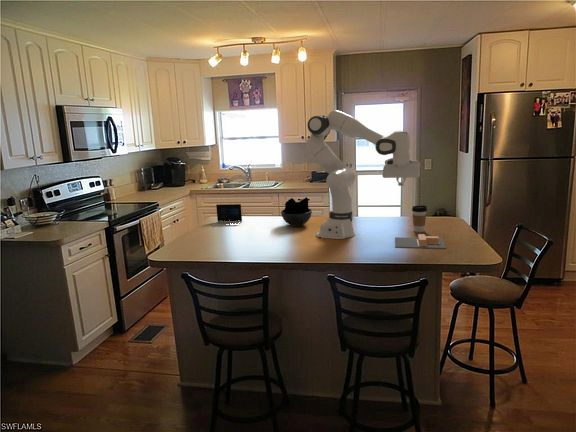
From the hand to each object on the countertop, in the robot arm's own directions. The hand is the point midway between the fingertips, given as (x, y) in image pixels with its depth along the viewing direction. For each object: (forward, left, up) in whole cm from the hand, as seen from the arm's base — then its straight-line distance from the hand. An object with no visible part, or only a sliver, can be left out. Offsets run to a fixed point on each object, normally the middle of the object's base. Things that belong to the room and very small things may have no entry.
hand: (400, 185), depth 235 cm
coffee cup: (+11, +12, -29) cm, 34 cm away
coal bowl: (-65, +21, -29) cm, 74 cm away
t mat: (+9, -14, -29) cm, 34 cm away
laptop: (-115, +24, -30) cm, 121 cm away
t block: (+14, -14, -29) cm, 35 cm away
